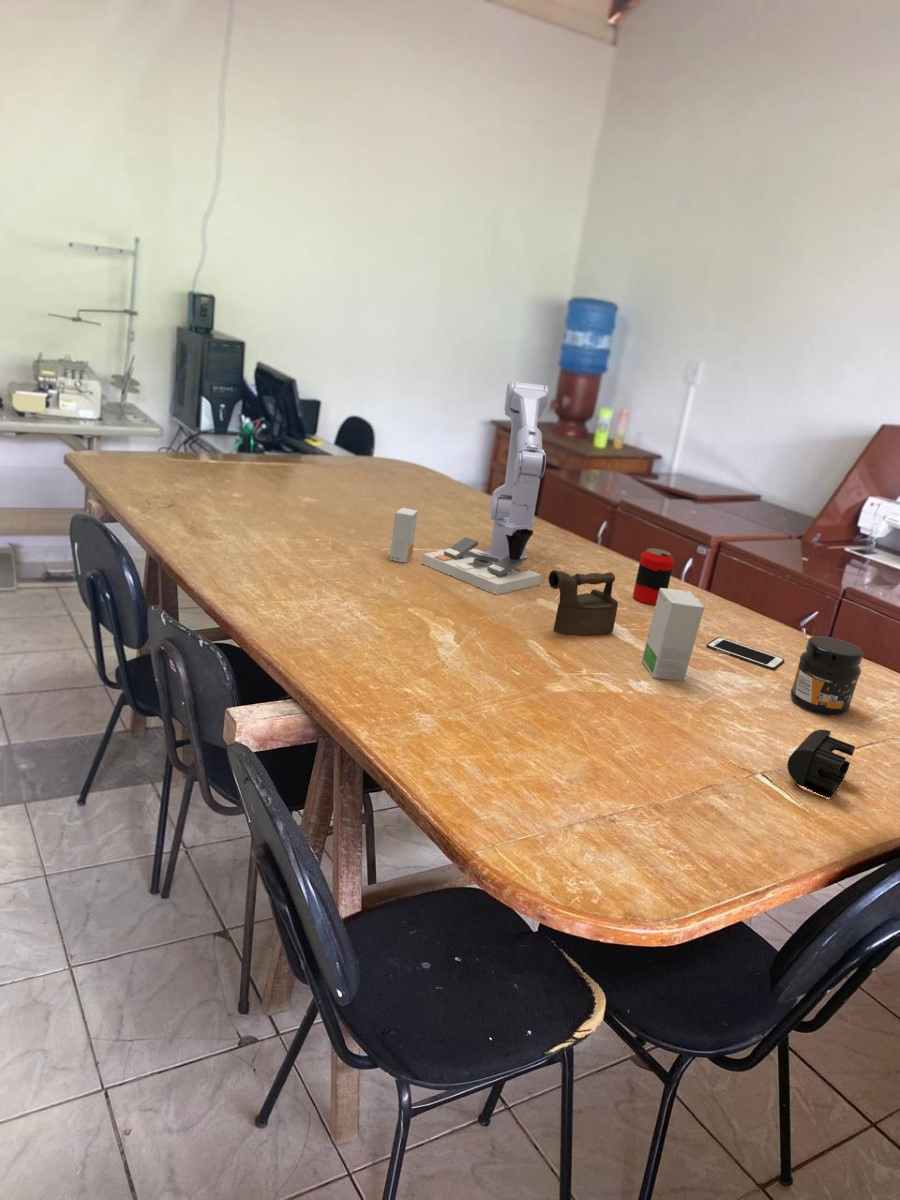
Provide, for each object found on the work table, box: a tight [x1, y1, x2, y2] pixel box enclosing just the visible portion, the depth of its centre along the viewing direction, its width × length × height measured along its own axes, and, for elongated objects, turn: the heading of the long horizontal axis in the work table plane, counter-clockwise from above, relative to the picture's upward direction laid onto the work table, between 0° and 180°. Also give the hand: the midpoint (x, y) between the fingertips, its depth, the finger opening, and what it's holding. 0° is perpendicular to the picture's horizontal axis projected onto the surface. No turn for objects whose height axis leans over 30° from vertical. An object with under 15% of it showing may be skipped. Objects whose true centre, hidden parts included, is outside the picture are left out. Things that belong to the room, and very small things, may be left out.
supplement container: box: [790, 635, 864, 716], centre depth 164 cm, size 10×10×12 cm
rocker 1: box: [444, 536, 479, 560], centre depth 217 cm, size 8×4×1 cm, turn 137°
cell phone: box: [705, 636, 785, 671], centre depth 187 cm, size 8×15×1 cm, turn 54°
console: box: [421, 548, 542, 596], centre depth 214 cm, size 16×24×3 cm, turn 47°
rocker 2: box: [466, 550, 499, 562], centre depth 213 cm, size 8×4×1 cm, turn 138°
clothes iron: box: [548, 569, 619, 636], centre depth 185 cm, size 8×16×13 cm, turn 120°
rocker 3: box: [487, 555, 523, 576], centre depth 209 cm, size 8×4×1 cm, turn 137°
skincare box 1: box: [389, 507, 419, 564], centre depth 216 cm, size 6×4×12 cm
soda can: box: [632, 547, 675, 606], centre depth 211 cm, size 8×8×12 cm
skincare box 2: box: [641, 588, 705, 682], centre depth 169 cm, size 8×7×16 cm
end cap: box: [787, 729, 856, 799], centre depth 137 cm, size 10×7×7 cm
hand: (514, 559), depth 211 cm, fingers closed, pressing on rocker 3
